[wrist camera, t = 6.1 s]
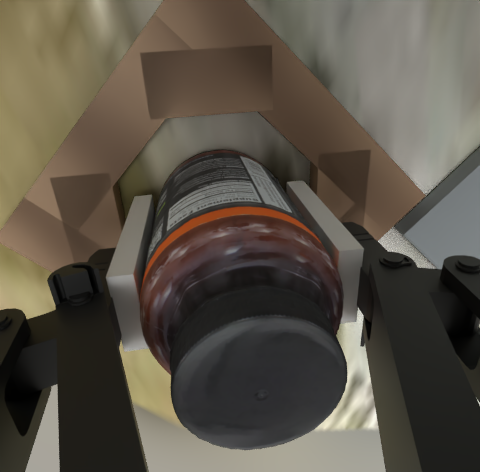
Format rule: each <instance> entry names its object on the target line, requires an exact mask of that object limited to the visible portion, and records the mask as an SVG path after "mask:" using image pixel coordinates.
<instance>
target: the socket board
mask: <svg viewBox="0 0 480 472" xmlns="http://www.w3.org/2000/svg"><path fill="white" fill-rule="evenodd" d="M254 111H258V112H259V113H260V114H261V115H262V116H263V117H264V118H265V119H266V120H267V121H268V122H269V123H270V124H271V125H272V126H273V127H275V128H276V129H277V130H278V131H279V132H280V133H281V134H282V135H283V136H284V137H285V138H286V139H287V140H288V141H289V142H290V143H291V144H293V145H294V146H295V147H296V148H297V149H298V150H299V151H300V152H301V153H302V154H303V155H304V156H305V157H306V158H307V159H308V160H309V161H310V186H309V188H310V189H311V190H312V191H313V192H314V193H315V194H316V195H317V197H318V198H319V199H320V200H321V201H322V202H323V203H324V204H325V205H326V207H327V208H328V209H329V210H330V211H331V212H332V213H333V214H334V216H335V217H336V218H337V219H338V220H339V221H340V222H341V223H344V222H354V223H356V224H358V225H360V226H363V227H364V228H365V229H366V230H367V231H368V232H369V234H371V235H372V236H373V237H374V239H376V240H377V241H378V240H379V239H380V238H381V237H382V236H383V235H384V234H385V233H387V232H388V231H389V230H390V229H391V228H392V227H393V226H394V225H395V224H396V223H397V222H398V221H399V220H400V219H401V218H403V217H404V216H405V215H406V214H407V213H408V212H409V211H410V210H411V209H412V208H413V207H414V206H415V205H416V204H418V203H419V202H420V201H421V200H422V199H423V198H424V197H425V194H424V193H423V192H422V191H421V190H420V189H419V188H418V187H417V186H416V185H415V184H414V183H413V182H412V180H411V179H410V178H409V177H408V176H407V175H406V174H405V173H404V172H403V171H402V170H401V169H400V168H399V166H398V165H397V164H396V163H395V162H394V161H393V160H392V159H391V158H390V157H389V156H388V155H387V153H386V152H385V151H384V150H383V149H382V148H381V147H380V146H379V145H378V144H377V143H376V142H375V141H374V139H373V138H372V137H371V136H370V135H369V134H368V133H367V132H366V131H365V130H364V129H363V128H362V127H361V125H360V124H359V123H358V122H357V121H356V120H355V119H354V118H353V117H352V116H351V115H350V114H349V113H348V111H347V110H346V109H345V108H344V107H343V106H342V105H341V104H340V103H339V102H338V101H337V100H336V98H335V97H334V96H333V95H332V94H331V93H330V92H329V91H328V90H327V89H326V88H325V87H324V86H323V84H322V83H321V82H320V81H319V80H318V79H317V78H316V77H315V76H314V75H313V74H312V73H311V72H310V70H309V69H308V68H307V67H306V66H305V65H304V64H303V63H302V62H301V61H300V60H299V59H298V58H297V56H296V55H295V54H294V53H293V52H292V51H291V50H290V49H289V48H288V47H287V46H286V45H285V43H284V42H283V41H282V40H281V39H280V38H279V37H278V36H277V35H276V34H275V33H274V32H273V31H272V29H271V28H270V27H269V26H268V25H267V24H266V23H265V22H264V21H263V20H262V19H261V18H260V17H259V15H258V14H257V13H256V12H255V11H254V10H253V9H252V8H251V7H250V6H249V5H248V4H247V3H246V1H245V0H163V2H162V3H161V5H160V6H159V7H158V9H157V10H156V12H155V13H154V14H153V16H152V17H151V19H150V20H149V22H148V23H147V24H146V26H145V27H144V29H143V30H142V31H141V33H140V34H139V36H138V37H137V39H136V40H135V41H134V43H133V44H132V46H131V47H130V48H129V50H128V51H127V53H126V54H125V55H124V57H123V58H122V60H121V61H120V63H119V64H118V65H117V67H116V68H115V70H114V71H113V72H112V74H111V75H110V77H109V78H108V79H107V81H106V82H105V84H104V85H103V87H102V88H101V89H100V91H99V92H98V94H97V95H96V96H95V98H94V99H93V101H92V102H91V103H90V105H89V106H88V108H87V109H86V111H85V112H84V113H83V115H82V116H81V118H80V119H79V120H78V122H77V123H76V125H75V126H74V127H73V129H72V130H71V132H70V133H69V135H68V136H67V137H66V139H65V140H64V142H63V143H62V144H61V146H60V147H59V149H58V150H57V152H56V153H55V154H54V156H53V157H52V159H51V160H50V161H49V163H48V164H47V166H46V167H45V168H44V170H43V171H42V173H41V174H40V176H39V177H38V178H37V180H36V181H35V183H34V184H33V185H32V187H31V188H30V190H29V191H28V192H27V194H26V195H25V197H24V198H23V200H22V201H21V202H20V204H19V205H18V207H17V208H16V209H15V211H14V212H13V214H12V215H11V216H10V218H9V219H8V221H7V222H6V224H5V225H4V226H3V228H2V229H1V231H0V243H1V244H3V245H4V246H6V247H8V248H10V249H12V250H13V251H15V252H17V253H19V254H20V255H22V256H24V257H26V258H28V259H29V260H31V261H33V262H35V263H36V264H38V265H40V266H42V267H44V268H45V269H47V270H49V271H51V272H52V273H53V272H54V271H55V270H57V269H59V268H61V267H63V266H66V265H69V264H72V263H79V262H88V260H89V258H90V256H91V255H93V254H94V253H95V252H96V251H97V250H99V249H107V248H116V247H117V244H118V241H119V238H120V236H121V233H122V230H123V227H124V224H125V222H126V220H125V215H124V211H123V206H122V201H121V196H120V191H119V186H118V182H117V180H118V179H119V178H120V177H121V175H122V174H123V173H124V171H125V170H126V169H127V168H128V166H129V165H130V164H131V162H132V161H133V160H134V159H135V157H136V156H137V155H138V153H139V152H140V151H141V150H142V148H143V147H144V146H145V144H146V143H147V142H148V141H149V139H150V138H151V137H152V136H153V134H154V133H155V132H156V130H157V129H158V128H159V127H160V125H161V124H162V123H163V121H164V120H165V119H166V118H176V117H189V116H202V115H215V114H228V113H241V112H254Z"/></svg>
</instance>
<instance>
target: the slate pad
mask: <svg viewBox="0 0 480 472" xmlns="http://www.w3.org/2000/svg"><path fill="white" fill-rule="evenodd" d="M394 227H395V228H396V229H397V230H398V231H399V232H400V233H401V234H402V235H403V236H404V237H405V238H406V239H407V240H408V241H409V242H410V243H411V244H412V245H413V246H414V247H415V248H416V249H417V250H418V251H419V252H420V253H421V254H422V255H424V256H425V257H426V258H427V259H428V260H429V261H430V262H431V263H432V264H433V265H434V266H435V267H436V268H437V269H442V266H443V262H444V259H446V258H447V257H450V256H455V255H467V256H473V257H475V258H477V259H480V147H479V148H478V149H477V150H476V151H475V152H474V153H473V154H471V155H470V156H469V157H468V158H467V159H466V160H465V161H464V162H463V163H462V164H461V165H460V166H459V167H458V168H456V169H455V170H454V171H453V172H452V173H451V174H450V175H449V176H448V177H447V178H446V179H445V180H444V181H443V182H442V183H440V184H439V185H438V186H437V187H436V188H435V189H434V190H433V191H432V192H431V193H430V194H429V195H428V196H427V197H425V198H424V199H423V200H422V201H421V202H420V203H419V204H418V205H417V206H416V207H415V208H414V209H413V210H412V211H410V212H409V213H408V214H407V215H406V216H405V217H404V218H403V219H402V220H401V221H400V222H399V223H398V224H397V225H396V226H394Z"/></svg>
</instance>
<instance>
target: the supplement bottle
mask: <svg viewBox="0 0 480 472" xmlns="http://www.w3.org/2000/svg"><path fill="white" fill-rule="evenodd" d="M343 299H344V294H343V288H342V281H341V278H340V274H339V272H338V269H337V267H336V265H335V263H334V261H333V260H332V258H331V256H330V255H329V253H328V252H327V250H326V249H325V248H324V246H323V245H322V243H321V241H320V239H319V237H318V236H317V235H316V234H315V233H314V232H313V230H312V229H311V227H310V226H309V224H308V223H307V222H306V220H305V219H304V217H303V216H302V215H301V213H300V212H299V210H298V209H297V208H296V207H295V206H294V204H293V202H292V201H291V200H290V198H289V197H288V196H287V194H286V193H285V191H284V190H283V188H282V187H281V185H280V184H279V181H278V178H276V179H275V177H274V176H273V175H272V174H271V172H270V171H269V170H268V169H266V168H265V167H264V166H263V165H262V164H261V163H259V162H258V161H256V160H255V159H253V158H251V157H249V156H247V155H245V154H241V153H238V152H234V151H227V150H217V151H209V152H205V153H201V154H198V155H196V156H194V157H192V158H190V159H188V160H187V161H185V162H183V163H182V164H181V165H180V166H178V167H177V168H176V169H175V170H174V172H173V173H172V174H171V175H170V176H169V178H168V180H167V181H166V183H165V184H164V187H163V189H162V191H161V194H160V197H159V200H158V204H157V209H156V214H155V220H154V224H153V229H152V234H151V239H150V243H149V250H148V256H147V261H146V267H145V272H144V277H143V283H142V288H141V294H140V322H141V327H142V332H143V336H144V339H145V342H146V344H147V346H148V347H149V349H150V351H151V353H152V354H153V356H154V357H155V359H156V360H157V361H158V363H159V364H160V365H161V366H162V367H163V368H164V369H165V370H166V371H167V372H168V373H169V374H170V375H171V398H172V404H173V407H174V410H175V413H176V415H177V417H178V419H179V420H180V422H181V423H182V425H183V426H184V427H186V428H187V429H188V430H189V431H190V432H191V433H192V434H194V435H196V436H197V437H198V438H199V439H202V440H204V441H207V442H209V443H211V444H214V445H217V446H220V447H225V448H229V449H241V450H252V449H262V448H267V447H273V446H277V445H281V444H284V443H287V442H289V441H292V440H294V439H296V438H298V437H301V436H303V435H305V434H307V433H309V432H310V431H312V430H314V429H315V428H316V427H317V426H319V425H320V424H321V423H322V422H323V421H324V420H325V419H326V418H327V417H328V416H329V415H330V414H331V413H332V412H333V410H334V409H335V408H336V406H337V405H338V403H339V401H340V399H341V398H342V395H343V393H344V391H345V386H346V383H347V362H346V359H345V356H344V353H343V351H342V348H341V346H340V344H339V342H338V339H337V337H336V334H337V331H338V329H339V325H340V323H341V318H342V314H343V313H342V312H343Z"/></svg>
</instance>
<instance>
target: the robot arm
mask: <svg viewBox="0 0 480 472" xmlns="http://www.w3.org/2000/svg"><path fill="white" fill-rule="evenodd" d="M287 196H288V197H289V198H290V200H291V201H292V202H293V204H294V206H295V207H296V208H297V209H298V210H299V212H300V213H301V215H302V216H303V217H304V219H305V220H306V222H307V223H308V224H309V226H310V227H311V229H312V230H313V232H314V233H315V234H316V235H317V236H318V237H319V239H320V241H321V243H322V245H323V246H324V248H325V249H326V250H327V252H328V253H329V255H330V256H331V258H332V260H333V261H334V263H335V265H336V267H337V269H338V272H339V274H340V278H341V281H342V288H343V294H344V299H343V312H342V313H343V314H342V318H341V323H349V322H356V320H357V310H358V308H359V309H360V311H361V312H362V314H363V315H364V320H363V328H362V337H361V346H364V344H365V346H366V352H367V358H368V364H369V370H370V377H371V383H372V389H373V395H374V401H375V407H376V414H377V420H378V426H379V432H380V438H381V444H382V450H383V456H384V463H385V469H386V472H480V406H479V403H478V401H479V402H480V328H479V324H480V259H477V258H475V257H473V256H467V255H455V256H450V257H447V258H446V259H444V262H443V266H442V269H428V268H418V267H417V265H416V263H415V262H414V261H413V260H412V259H411V258H410V257H408V256H406V255H403V254H400V253H396V252H388V251H387V250H386V249H385V248H384V247H383V246H382V245H381V244H380V243H379V242H378V241H377V240H376V239H374V237H373V236H372V235H371V234H369V232H368V231H367V230H366V229H365V228H364V227H363V226H360V225H358V224H356V223H354V222H344V223H341V222H340V221H339V220H338V219H337V218H336V217H335V216H334V214H333V213H332V212H331V211H330V210H329V209H328V208H327V207H326V205H325V204H324V203H323V202H322V201H321V200H320V199H319V198H318V197H317V195H316V194H315V193H314V192H313V191H312V190H311V189H310V188H309V186H308V185H307V184H306V183H305V182H304V181H292V182H287ZM154 220H155V208H154V202H153V197H152V195H143V196H134V199H133V202H132V205H131V208H130V210H129V213H128V216H127V219H126V222H125V224H124V227H123V230H122V233H121V236H120V238H119V241H118V244H117V247H116V248H107V249H99V250H97V251H96V252H95V253H94V254H93V255H91V256H90V258H89V260H88V262H79V263H72V264H69V265H66V266H63V267H61V268H59V269H57V270H55V271H54V272H53V273H52V274H51V275H50V276H49V278H48V280H47V281H48V284H49V287H50V290H51V293H52V296H53V299H54V302H55V305H56V310H54V311H52V312H49V313H46V314H43V315H40V316H37V317H34V318H30V319H26V316H25V314H24V313H23V311H22V310H19V309H4V310H0V472H25V470H26V466H27V463H28V460H29V457H30V454H31V451H32V448H33V445H34V441H35V439H36V435H37V432H38V429H39V426H40V423H41V420H42V417H43V414H44V410H45V407H46V404H47V401H48V398H49V395H50V391H51V386H53V385H56V384H58V418H59V419H58V420H59V457H60V458H59V459H60V472H149V471H148V466H147V462H146V459H145V454H144V450H143V446H142V442H141V437H140V433H139V429H138V425H137V421H136V417H135V413H134V408H133V404H132V400H131V396H130V392H129V388H128V383H127V379H126V375H125V371H124V367H123V363H122V359H121V355H120V351H119V346H120V341H121V340H122V344H123V348H124V352H125V351H132V350H140V349H148V348H149V347H148V346H147V344H146V342H145V339H144V336H143V332H142V327H141V322H140V294H141V288H142V283H143V277H144V272H145V267H146V261H147V256H148V250H149V243H150V239H151V234H152V229H153V224H154ZM341 323H340V324H341ZM476 398H477V399H478V401H477V399H476Z"/></svg>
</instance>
